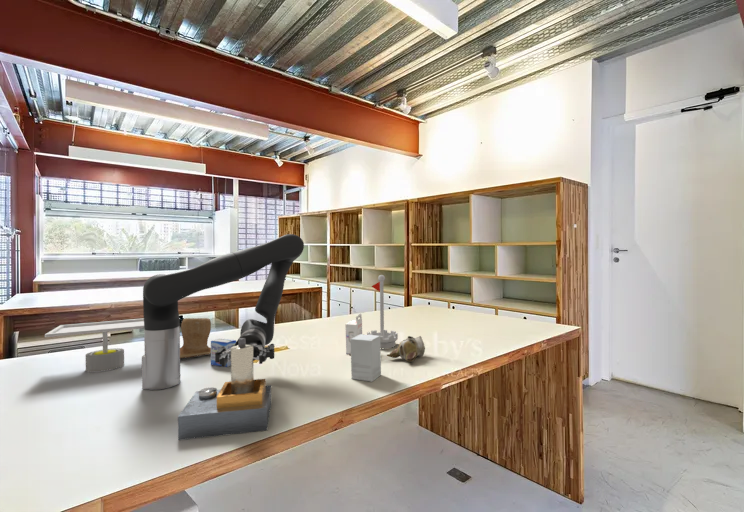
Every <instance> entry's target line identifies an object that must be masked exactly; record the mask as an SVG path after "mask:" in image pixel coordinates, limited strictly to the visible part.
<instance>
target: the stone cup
mask: <svg viewBox="0 0 744 512" xmlns="http://www.w3.org/2000/svg"><path fill="white" fill-rule="evenodd" d="M211 330H212V321H211V319H210V318H208V317H200V318H199V317H198V318H195V317H194V318H193V317H191V318H190V317H185V318H183V319H182V321H181V323H180V332H181V337H182V341H183V343H182V346H180V360H184V359H190V358H197V357H203V356H208V355H211V346H208V339H209V337H210V334H211Z"/></svg>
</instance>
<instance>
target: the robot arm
mask: <svg viewBox="0 0 744 512" xmlns="http://www.w3.org/2000/svg"><path fill="white" fill-rule="evenodd" d="M304 249H305V242H304V241H303V239H302V238H301V237H300V236H299V235H296V234H293V233H287V234H284V235H282V236H280V237H277V238H275V239H273V240H270V241H268V242H266V243H262V244H258V245H255V246H251V247H247V248H244V249H239V250H236V251H232V252H228V253H226V254H222V255H219V256H217V257H214V258H212V259H209V260H207V261H205V262H203V263H202V264H199V265H197V266H195V267H193V268H189V269H185V270H182V271H181V270H180V271H178V272H174V273H169V274H168V273H167V274H164V273H161V274H160V273H159V274H155V275H152V276H150V277H149V278H148V279H147V280H145V282H144V284H143V287H142V304H143V305H142V308H143V309H142V310H143V313H142V314H143V318H144V328H143V329H144V330H143V333H144V334H143V337H144V345H143V346H144V355H142V356H141V387H142V388H141V389H142V390H151V391H155V390H164V389H169V388H172V387H175V386H177V385H179V384H180V383H181V359H180V348H181V345H180V344H181V336H180V335H181V333H180V332H181V323H180V313H179V312H180V311H179V301H180V300H182V299H184V298H186V297H188V296H192V295H194V294H196V293H199V292H200V291H204V290H208V289H212V288H216V287H218V286H223V285H226V284H229V283H232V282H236V281H238V280H240V279H241V280H242V279H244V278H246V277H248V276H251V275H252V274H254V273H256V272H258V271H260V270H262V269H263V268H266V267H267V266H269V265H270V268H269V272H268V274H267V278H266V280H265V282H264V285H263V287H262V289H261V290H260V291H261V292H260V294H259V297H258V300H257V303H256V305H255V308H254V311H255V312H256V313H257V314H258V315H259V316H262V317H263V318H264V319H265V320H266V322H264V321H260V320H256V319H252V318H250V319H249V318H248V319H247V320H245V321H244V322H243V324H242V325H241V328H240V335H239V337H238V339H240V338H246V345H252V346H253V362H254V361H258V364H260V365H261V364H263V363H264V362H266V361H267V360H268V358H269V360H273V359H275V344H274V343H271V342H272V341H273V340H274V335H275V322H276V321H275V319H276V315H277V311H278V308H279V305H280V303H281V301H282V300H281V299H282V295H283V293H284V287H285V281H286V279H287V278H286V277H287V275H288V272H289V270H290V268H291V266H292V264H293V263H294V262H295V260H297V259H298V258H299V257H300V256H301V255H302V253H303V252H304ZM238 339H237V340H236V344H235V346H237V345H238ZM228 354H229V358H228ZM229 361H231V348H229V349H226V348H225V347H224V346H222V347H220V348H219V349H218V350H217V351H216V352H215V362H217V363H218V362H220V365H222V366H221V367H223V366H226V364H227V363H228V362H229Z"/></svg>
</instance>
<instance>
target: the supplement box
mask: <svg viewBox="0 0 744 512" xmlns="http://www.w3.org/2000/svg"><path fill="white" fill-rule="evenodd" d="M381 350H382V349H380V336H376V335H367V334H363V333H362V334H360V335H358V336H356V337H354V338H352V339H351V354H350V363H351V364H350V367H351V370H350V372H351V379H352V380H357V381H364V382H374V381H375V380H377V379H378V378H379V377H380V376H381V374H382V357H381V352H382V351H381Z"/></svg>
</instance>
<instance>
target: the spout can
mask: <svg viewBox="0 0 744 512" xmlns="http://www.w3.org/2000/svg"><path fill="white" fill-rule="evenodd" d="M237 340H238V345H237V346H234V347H231V366H230V382H231V395H233V394H244V393H254V380H255V378H254V361H253V346H252V345H246V338H240V339H239V338H237Z"/></svg>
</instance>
